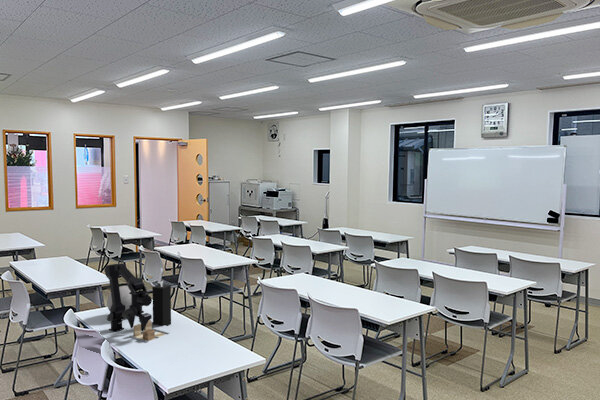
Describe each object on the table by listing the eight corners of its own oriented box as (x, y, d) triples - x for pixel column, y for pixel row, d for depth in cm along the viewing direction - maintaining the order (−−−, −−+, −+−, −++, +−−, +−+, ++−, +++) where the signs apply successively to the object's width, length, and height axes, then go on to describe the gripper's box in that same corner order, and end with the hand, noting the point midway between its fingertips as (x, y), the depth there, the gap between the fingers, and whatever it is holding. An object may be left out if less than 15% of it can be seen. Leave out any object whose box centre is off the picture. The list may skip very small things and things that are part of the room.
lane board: (129, 339, 257) (129, 336, 257) (151, 331, 270) (151, 327, 270) (146, 345, 249) (146, 341, 249) (169, 336, 263) (169, 332, 262)
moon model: (138, 320, 289) (137, 289, 288) (104, 322, 284) (104, 291, 283) (141, 310, 308) (141, 281, 307) (110, 312, 304) (109, 283, 303)
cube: (142, 339, 254) (142, 331, 253) (149, 336, 257) (149, 329, 257) (148, 340, 251) (148, 332, 251) (154, 338, 255) (154, 330, 255)
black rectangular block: (152, 326, 278) (152, 281, 276) (161, 322, 285) (160, 278, 283) (163, 328, 275) (162, 283, 273) (171, 324, 282) (170, 280, 280)
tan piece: (132, 337, 258) (132, 326, 257) (140, 335, 262) (139, 323, 262) (148, 342, 251) (148, 330, 250) (155, 339, 255) (155, 327, 255)
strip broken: (143, 333, 264) (143, 322, 264) (150, 331, 268) (150, 319, 268) (158, 338, 257) (158, 326, 257) (165, 335, 262) (165, 324, 261)
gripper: (114, 303, 256) (114, 330, 257) (135, 309, 246) (136, 337, 248) (130, 298, 266) (131, 324, 267) (152, 304, 256) (152, 331, 257)
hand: (137, 329), depth 259 cm, fingers open, 9 cm apart
